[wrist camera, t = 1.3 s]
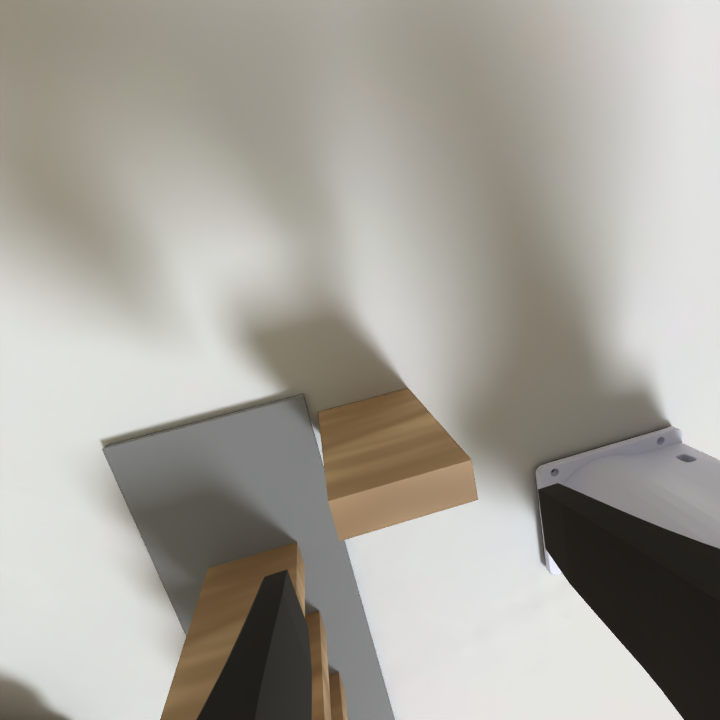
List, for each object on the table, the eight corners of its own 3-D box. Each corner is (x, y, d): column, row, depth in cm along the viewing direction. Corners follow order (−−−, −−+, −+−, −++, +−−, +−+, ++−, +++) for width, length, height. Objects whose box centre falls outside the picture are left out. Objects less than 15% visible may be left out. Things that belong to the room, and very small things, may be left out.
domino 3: (318, 412, 20) (328, 501, 12) (408, 388, 21) (471, 459, 13) (325, 438, 21) (339, 541, 13) (413, 414, 21) (478, 499, 13)
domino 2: (235, 636, 22) (199, 833, 14) (319, 610, 23) (328, 787, 15) (243, 657, 23) (213, 858, 15) (325, 630, 23) (337, 813, 15)
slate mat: (302, 394, 20) (302, 396, 19) (404, 754, 27) (406, 762, 27) (106, 445, 19) (102, 449, 18) (266, 804, 26) (265, 811, 26)
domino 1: (207, 568, 21) (152, 744, 13) (297, 542, 21) (294, 697, 14) (217, 591, 21) (168, 774, 14) (304, 564, 22) (305, 727, 14)
